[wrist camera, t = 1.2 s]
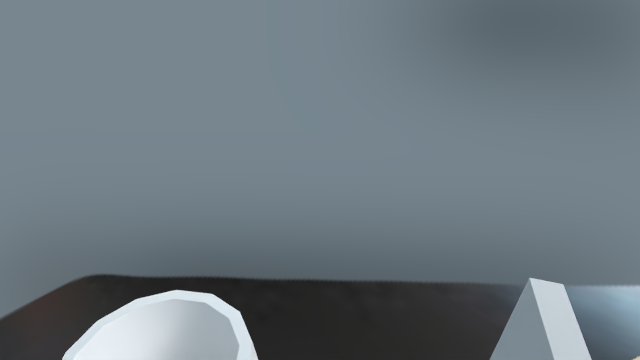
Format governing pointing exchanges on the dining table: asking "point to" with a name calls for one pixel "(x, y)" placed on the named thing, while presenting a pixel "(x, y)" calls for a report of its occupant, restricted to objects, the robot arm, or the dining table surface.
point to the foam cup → (168, 331)
